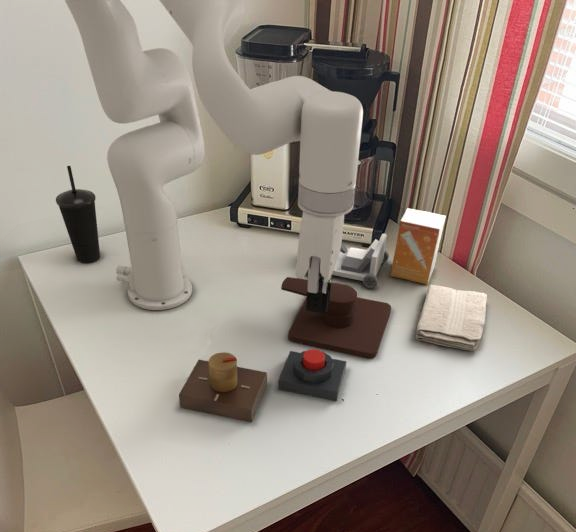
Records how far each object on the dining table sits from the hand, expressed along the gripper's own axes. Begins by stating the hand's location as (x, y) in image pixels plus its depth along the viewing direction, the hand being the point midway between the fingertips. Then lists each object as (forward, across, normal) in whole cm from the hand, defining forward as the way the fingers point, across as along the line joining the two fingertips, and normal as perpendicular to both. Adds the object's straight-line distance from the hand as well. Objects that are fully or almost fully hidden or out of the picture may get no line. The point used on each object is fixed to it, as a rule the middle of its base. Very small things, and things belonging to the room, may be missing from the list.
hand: (317, 307), depth 94 cm
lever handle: (+15, -17, 0) cm, 23 cm away
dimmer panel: (+15, +8, -13) cm, 21 cm away
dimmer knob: (+12, +8, -13) cm, 19 cm away
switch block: (+15, 0, 0) cm, 15 cm away
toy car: (+15, -37, -2) cm, 40 cm away
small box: (+15, -39, +13) cm, 44 cm away
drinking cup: (+15, -25, -55) cm, 62 cm away
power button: (+12, 0, 0) cm, 12 cm away
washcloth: (+15, -24, +22) cm, 36 cm away
